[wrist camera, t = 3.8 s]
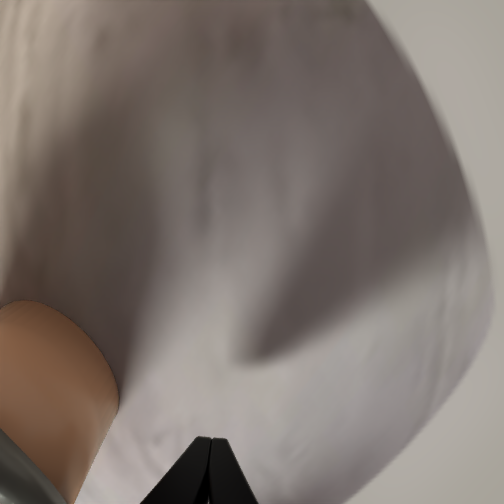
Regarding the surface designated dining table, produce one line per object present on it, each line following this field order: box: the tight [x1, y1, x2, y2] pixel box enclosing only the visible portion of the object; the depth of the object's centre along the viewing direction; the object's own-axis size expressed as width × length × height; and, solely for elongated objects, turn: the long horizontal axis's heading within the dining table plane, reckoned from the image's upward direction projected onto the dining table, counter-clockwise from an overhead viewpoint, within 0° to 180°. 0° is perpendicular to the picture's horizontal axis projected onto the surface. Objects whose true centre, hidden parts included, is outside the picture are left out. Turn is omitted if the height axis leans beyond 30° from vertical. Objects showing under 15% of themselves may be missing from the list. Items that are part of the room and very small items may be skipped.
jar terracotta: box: [0, 300, 119, 504], centre depth 7 cm, size 6×6×6 cm
